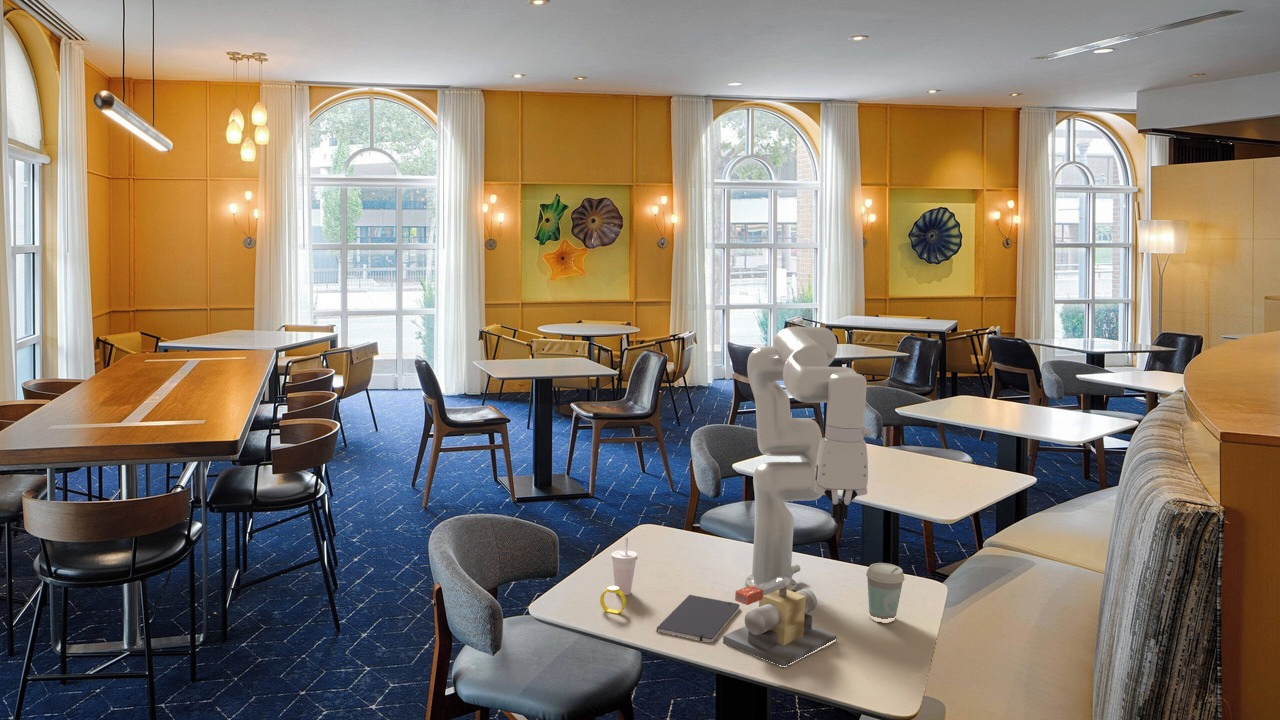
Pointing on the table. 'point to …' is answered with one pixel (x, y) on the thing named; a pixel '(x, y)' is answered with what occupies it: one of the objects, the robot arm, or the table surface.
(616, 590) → the watch
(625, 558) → the smoothie
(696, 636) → the notebook
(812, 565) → the table surface
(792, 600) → the valve stand
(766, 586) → the lever
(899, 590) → the coffee cup
